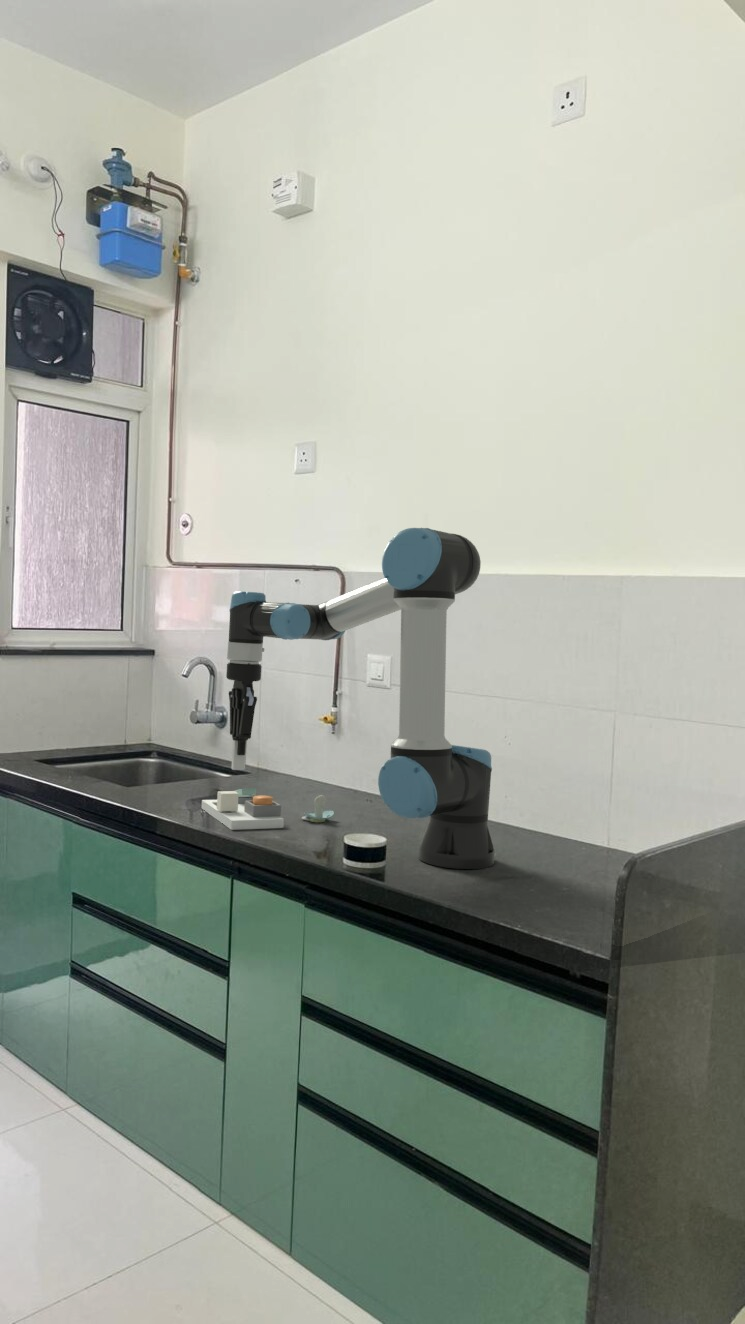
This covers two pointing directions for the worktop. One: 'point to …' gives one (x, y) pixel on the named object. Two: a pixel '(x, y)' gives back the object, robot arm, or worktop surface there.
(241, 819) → the panel
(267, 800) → the plunger button
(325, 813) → the pacifier
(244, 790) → the rocker
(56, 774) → the worktop surface
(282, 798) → the worktop surface
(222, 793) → the off-white square block
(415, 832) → the worktop surface
